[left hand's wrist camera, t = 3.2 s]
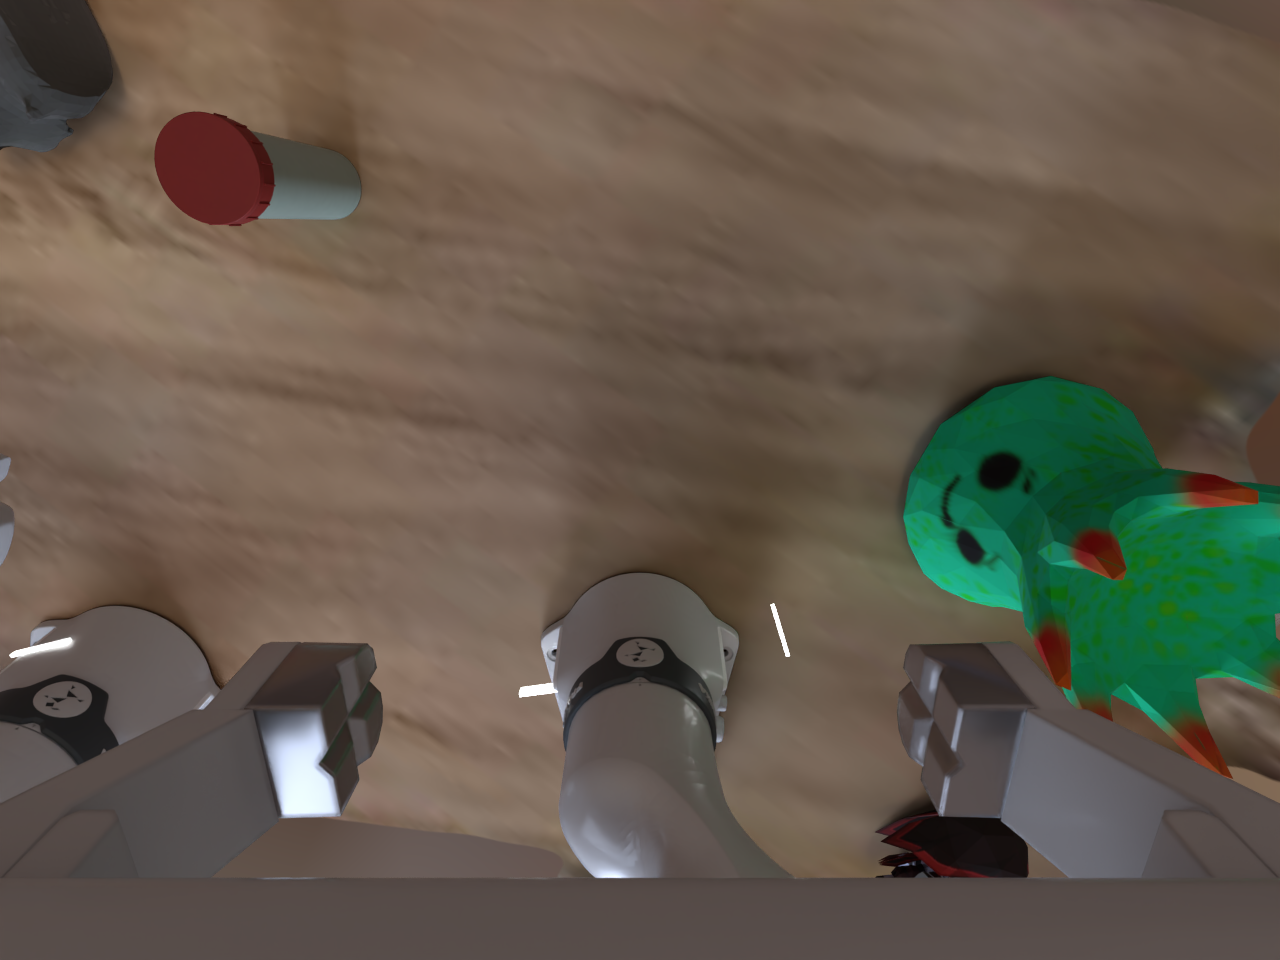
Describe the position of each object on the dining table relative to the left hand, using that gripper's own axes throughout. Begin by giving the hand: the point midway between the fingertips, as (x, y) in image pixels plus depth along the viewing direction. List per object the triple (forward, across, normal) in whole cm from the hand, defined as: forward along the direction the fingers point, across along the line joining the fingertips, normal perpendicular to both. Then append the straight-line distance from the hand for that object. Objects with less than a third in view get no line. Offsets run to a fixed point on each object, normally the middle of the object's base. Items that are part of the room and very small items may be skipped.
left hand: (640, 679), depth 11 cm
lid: (+33, -24, +9) cm, 41 cm away
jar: (+48, -24, +9) cm, 54 cm away
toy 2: (+48, +33, -15) cm, 60 cm away
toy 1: (+48, +31, -54) cm, 78 cm away
